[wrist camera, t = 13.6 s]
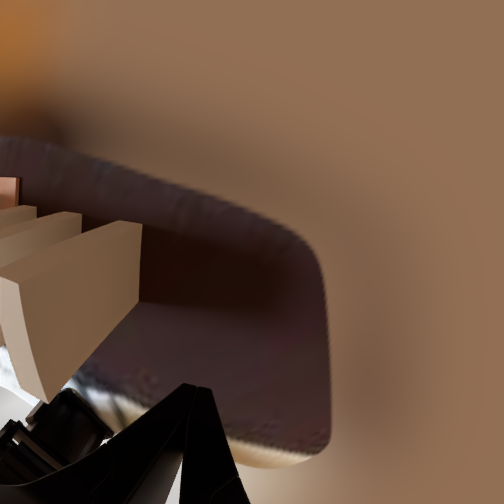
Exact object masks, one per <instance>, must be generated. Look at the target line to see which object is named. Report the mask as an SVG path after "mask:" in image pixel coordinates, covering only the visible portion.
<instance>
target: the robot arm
mask: <svg viewBox="0 0 504 504" xmlns="http://www.w3.org/2000/svg"><path fill="white" fill-rule="evenodd" d="M26 422H27V423H28V425H27V427H25V426H24V425H23V423H22V422H21V421H20V420H19V421H17V422H15V421H13V420H12V419H10V420H9V421H8V422H7V424H6V425H5V426H4V427H3V428H2V429H1V430H0V504H165V503H166V500H167V497H168V495H169V492H170V490H171V487H172V485H173V482H174V479H175V477H176V474H177V472H178V469H179V467H180V464H181V462H182V471H181V484H180V498H179V504H251V503H250V501H249V499H248V497H247V494H246V492H245V490H244V488H243V485H242V482H241V479H240V478H239V474H238V471H237V468H236V466H235V463H234V460H233V457H232V454H231V451H230V448H229V445H228V442H227V439H226V436H225V433H224V429H223V426H222V423H221V420H220V417H219V413H218V410H217V407H216V403H215V400H214V396H213V393H212V390H211V389H210V388H205V387H200V386H199V387H196V386H195V385H191V384H186V383H183V384H181V385H180V386H179V387H178V388H176V389H175V390H174V391H173V392H171V393H170V394H169V395H168V396H166V397H165V398H164V399H163V400H161V401H160V402H159V403H158V404H156V405H155V406H154V407H152V408H151V409H150V410H149V411H147V412H146V413H145V414H143V415H142V416H141V417H139V418H138V419H137V420H135V421H134V422H133V423H132V424H130V425H129V426H128V427H126V428H125V429H123V430H122V431H121V432H119V433H118V434H117V435H115V436H114V433H113V431H111V430H110V429H109V428H108V427H107V426H106V425H105V424H104V423H103V422H102V421H101V420H100V419H98V418H97V417H96V416H95V415H94V414H93V413H92V412H91V411H90V410H89V409H88V408H87V407H86V406H85V405H84V404H83V403H82V402H81V400H80V399H79V398H78V397H77V396H76V395H75V394H74V393H73V392H72V391H71V390H70V389H68V388H65V389H63V390H61V391H59V392H58V394H57V395H56V396H55V397H54V398H53V400H52V401H51V402H50V403H49V404H47V403H45V402H44V401H42V400H40V401H39V403H38V404H37V405H36V406H35V407H34V409H33V410H32V411H31V412H30V413H29V415H28V416H27V417H26ZM113 436H114V437H113ZM112 437H113V438H112ZM13 438H14V439H15V440H16V441H17V442H18V443H19V444H18V445H17V444H16V443H15V442H14V441H13V440H12V439H13ZM109 438H111V439H110V440H108V441H107V444H106V443H104V444H103V445H101V443H102V441H103V440H105V439H109ZM100 445H101V446H100ZM182 459H183V460H182Z"/></svg>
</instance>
